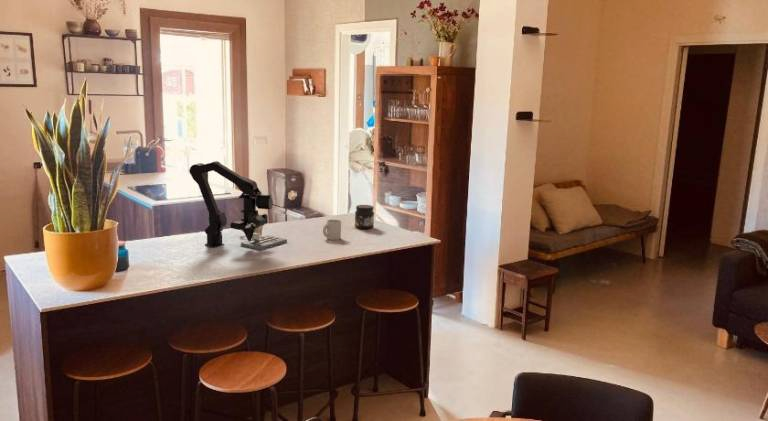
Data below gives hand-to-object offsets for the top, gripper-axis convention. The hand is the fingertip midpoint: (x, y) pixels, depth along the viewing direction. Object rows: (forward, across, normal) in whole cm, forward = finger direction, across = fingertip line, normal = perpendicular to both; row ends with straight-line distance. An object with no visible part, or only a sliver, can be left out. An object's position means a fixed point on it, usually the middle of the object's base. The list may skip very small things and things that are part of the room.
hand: (249, 240), depth 282 cm
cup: (+4, +40, -18) cm, 44 cm away
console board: (+4, +10, 0) cm, 10 cm away
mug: (+4, +17, +16) cm, 23 cm away
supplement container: (+4, +71, -16) cm, 73 cm away
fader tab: (+2, +5, 0) cm, 5 cm away
